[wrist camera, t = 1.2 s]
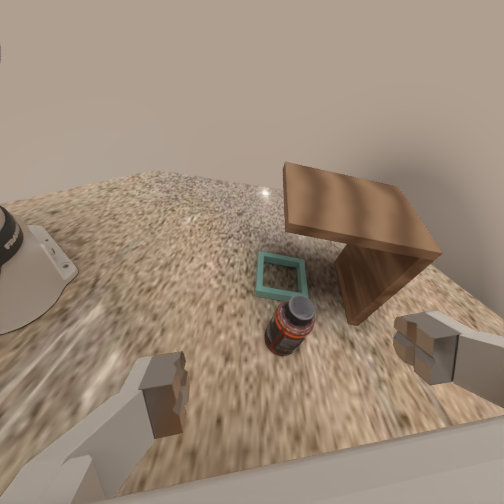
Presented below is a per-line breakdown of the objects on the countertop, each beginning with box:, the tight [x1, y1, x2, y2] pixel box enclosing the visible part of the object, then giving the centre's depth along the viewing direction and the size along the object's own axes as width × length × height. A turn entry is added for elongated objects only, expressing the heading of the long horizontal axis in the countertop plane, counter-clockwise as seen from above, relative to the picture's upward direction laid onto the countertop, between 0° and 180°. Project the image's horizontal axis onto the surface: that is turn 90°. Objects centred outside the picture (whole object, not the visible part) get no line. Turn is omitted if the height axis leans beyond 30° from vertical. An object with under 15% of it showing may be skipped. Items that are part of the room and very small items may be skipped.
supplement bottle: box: [265, 295, 315, 356], centre depth 37 cm, size 6×6×11 cm
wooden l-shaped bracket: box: [283, 162, 442, 326], centre depth 43 cm, size 21×16×22 cm
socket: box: [254, 251, 309, 301], centre depth 50 cm, size 10×10×2 cm
